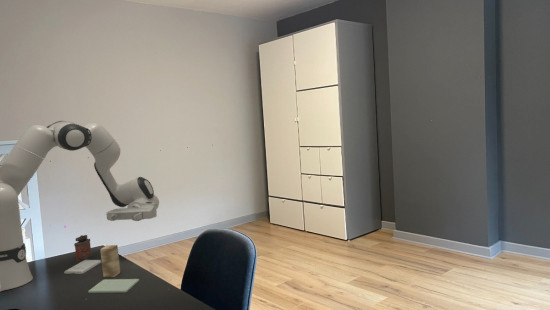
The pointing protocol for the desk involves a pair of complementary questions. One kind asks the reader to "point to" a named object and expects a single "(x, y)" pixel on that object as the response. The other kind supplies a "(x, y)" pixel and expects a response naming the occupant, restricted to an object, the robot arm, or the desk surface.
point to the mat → (113, 285)
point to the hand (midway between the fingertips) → (122, 218)
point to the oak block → (110, 261)
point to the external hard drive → (82, 267)
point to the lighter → (82, 248)
